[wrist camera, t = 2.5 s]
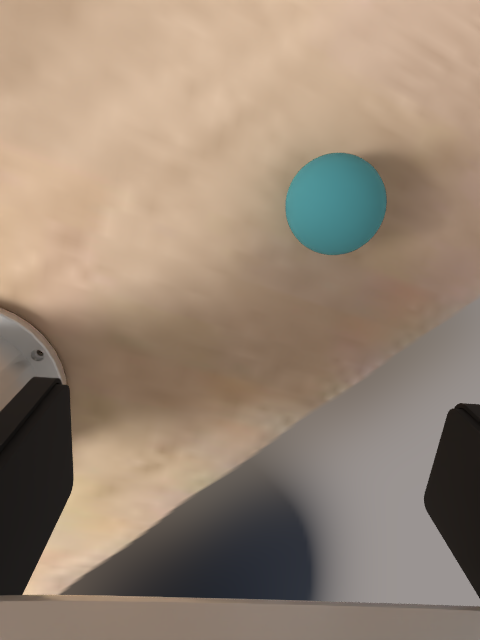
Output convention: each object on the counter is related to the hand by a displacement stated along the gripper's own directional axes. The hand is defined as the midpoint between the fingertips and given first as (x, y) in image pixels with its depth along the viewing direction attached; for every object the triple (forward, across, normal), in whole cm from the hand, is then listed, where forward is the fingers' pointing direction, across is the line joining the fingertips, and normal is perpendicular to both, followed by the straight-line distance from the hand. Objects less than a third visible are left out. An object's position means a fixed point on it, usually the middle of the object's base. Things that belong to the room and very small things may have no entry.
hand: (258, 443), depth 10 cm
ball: (+18, -6, -5) cm, 19 cm away
